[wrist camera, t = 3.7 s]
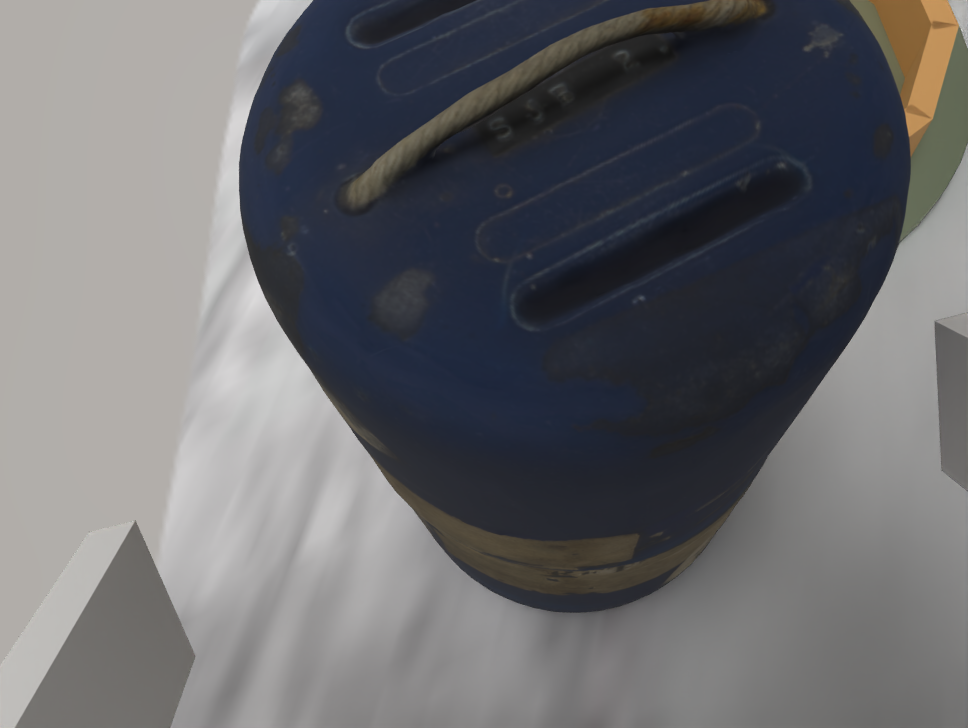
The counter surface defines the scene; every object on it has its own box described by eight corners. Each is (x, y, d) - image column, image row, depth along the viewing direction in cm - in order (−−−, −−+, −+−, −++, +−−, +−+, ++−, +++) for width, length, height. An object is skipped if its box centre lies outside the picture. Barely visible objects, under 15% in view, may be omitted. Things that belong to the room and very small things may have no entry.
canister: (395, 363, 29) (143, -129, 12) (670, 293, 29) (789, -296, 12) (454, 657, 25) (205, 515, 8) (773, 577, 25) (1150, 276, 8)
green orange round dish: (716, -152, 37) (728, -231, 34) (1079, 100, 30) (1135, 29, 27) (372, 75, 34) (352, 10, 31) (689, 409, 27) (703, 369, 24)
